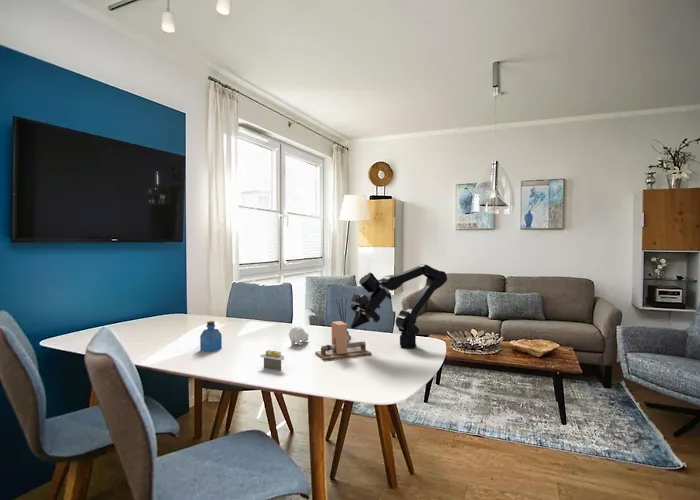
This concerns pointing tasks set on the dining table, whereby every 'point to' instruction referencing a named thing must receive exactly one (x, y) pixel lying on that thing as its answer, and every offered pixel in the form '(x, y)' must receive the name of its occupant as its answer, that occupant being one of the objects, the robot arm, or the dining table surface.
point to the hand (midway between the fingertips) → (351, 327)
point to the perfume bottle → (210, 338)
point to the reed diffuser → (343, 318)
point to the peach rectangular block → (339, 337)
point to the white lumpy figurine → (298, 335)
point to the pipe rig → (352, 351)
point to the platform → (272, 360)
